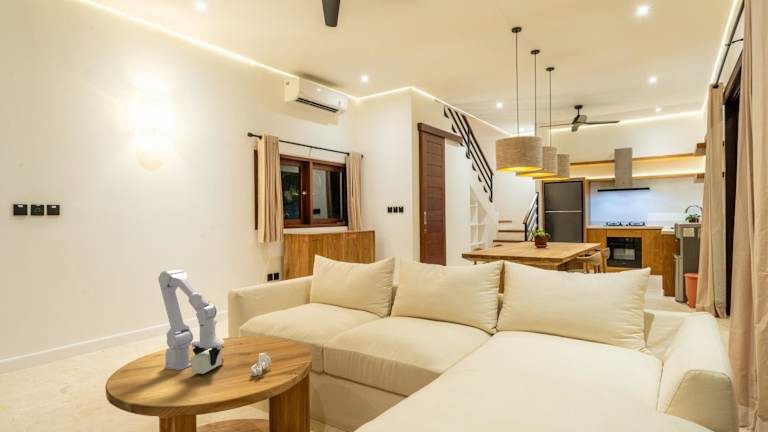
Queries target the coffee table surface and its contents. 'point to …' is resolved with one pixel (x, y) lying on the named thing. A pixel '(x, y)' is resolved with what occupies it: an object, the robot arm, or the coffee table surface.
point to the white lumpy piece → (260, 364)
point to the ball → (222, 360)
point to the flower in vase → (216, 338)
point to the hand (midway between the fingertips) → (207, 364)
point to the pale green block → (204, 362)
